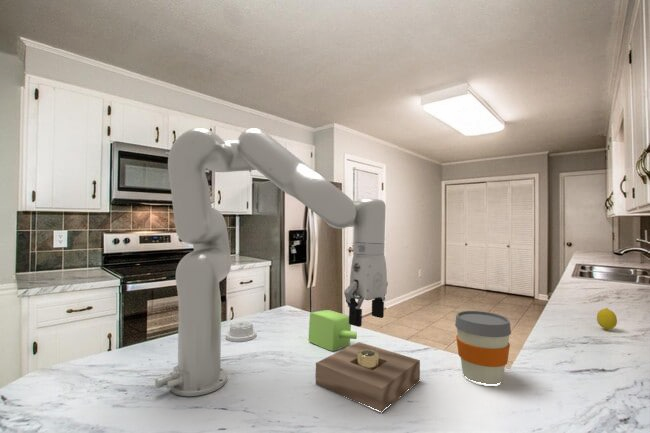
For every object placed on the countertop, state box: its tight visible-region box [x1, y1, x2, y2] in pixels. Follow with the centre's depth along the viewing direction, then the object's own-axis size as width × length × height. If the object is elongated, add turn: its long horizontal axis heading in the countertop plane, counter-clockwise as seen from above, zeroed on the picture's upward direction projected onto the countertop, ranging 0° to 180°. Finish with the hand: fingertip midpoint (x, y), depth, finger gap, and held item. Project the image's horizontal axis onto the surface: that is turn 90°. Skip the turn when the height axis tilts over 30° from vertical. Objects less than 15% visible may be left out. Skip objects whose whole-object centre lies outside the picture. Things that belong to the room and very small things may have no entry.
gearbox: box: [308, 309, 358, 352], centre depth 103 cm, size 18×10×10 cm, turn 45°
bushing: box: [358, 349, 378, 370], centre depth 78 cm, size 5×5×7 cm
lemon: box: [596, 307, 618, 331], centre depth 118 cm, size 6×6×8 cm
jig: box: [315, 341, 421, 412], centre depth 78 cm, size 18×18×5 cm
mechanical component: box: [225, 320, 257, 343], centre depth 108 cm, size 10×4×10 cm
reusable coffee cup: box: [454, 310, 512, 384], centre depth 81 cm, size 13×13×15 cm
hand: (366, 320), depth 78 cm, fingers open, 9 cm apart
